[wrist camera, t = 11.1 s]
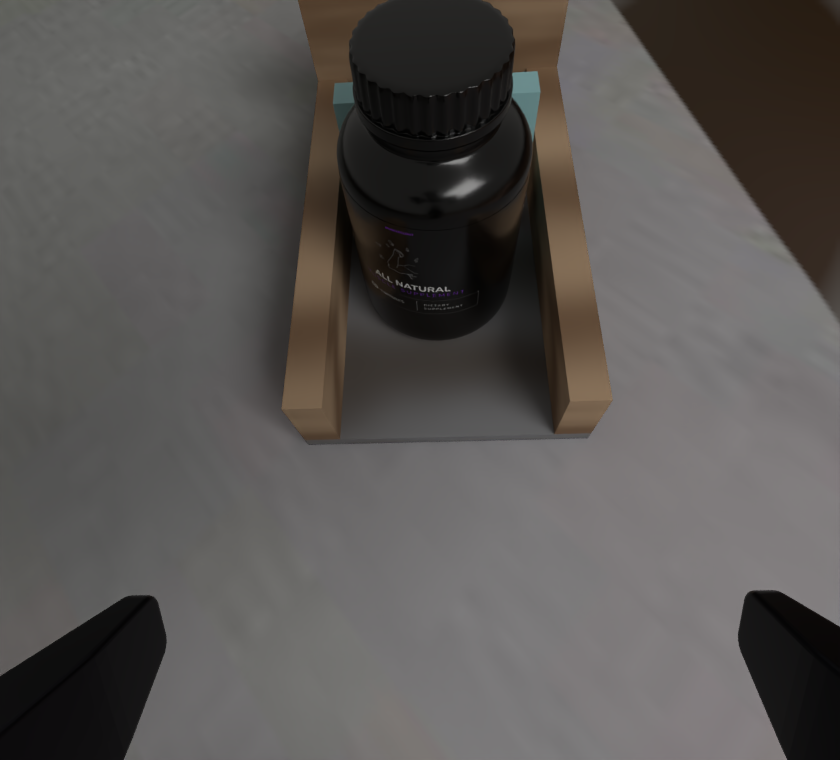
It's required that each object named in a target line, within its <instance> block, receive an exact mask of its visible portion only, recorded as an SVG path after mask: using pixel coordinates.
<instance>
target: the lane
mask: <svg viewBox="0 0 840 760" xmlns="http://www.w3.org/2000/svg"><path fill="white" fill-rule="evenodd" d="M386 1H388V0H298V2H299V6H300V10H301V14H302V18H303V22H304V26H305V30H306V34H307V38H308V42H309V46H310V50H311V54H312V58H313V62H314V66H315V70H316V74H317V78H318V87H317V96H316V105H315V114H314V123H313V132H312V140H311V149H310V158H309V167H308V176H307V185H306V194H305V203H304V212H303V221H302V230H301V239H300V248H299V257H298V266H297V275H296V284H295V293H294V302H293V311H292V319H291V328H290V337H289V346H288V355H287V364H286V373H285V382H284V391H283V400H282V411H283V412H284V413H285V415H286V416H287V417H288V418H289V420H290V421H291V422H292V424H293V425H294V426H295V428H296V429H297V430H298V431H299V433H300V434H301V435H302V437H303V438H304V439H305V441H306V442H307V443H308V444H309V445H316V444H358V443H400V442H443V441H485V440H527V439H570V438H588V437H589V435H590V434H591V432H592V431H593V429H594V428H595V426H596V425H597V423H598V422H599V420H600V419H601V417H602V416H603V414H604V413H605V411H606V410H607V408H608V407H609V405H610V404H611V402H612V401H613V399H612V393H611V387H610V381H609V375H608V369H607V363H606V357H605V351H604V345H603V340H602V334H601V328H600V322H599V316H598V310H597V304H596V298H595V292H594V286H593V280H592V274H591V268H590V262H589V256H588V250H587V244H586V238H585V232H584V226H583V220H582V214H581V208H580V202H579V196H578V190H577V184H576V178H575V172H574V166H573V160H572V154H571V148H570V142H569V136H568V131H567V125H566V119H565V113H564V107H563V101H562V95H561V89H560V83H559V77H558V71H557V63H558V57H559V51H560V46H561V40H562V34H563V29H564V23H565V17H566V12H567V6H568V0H482V1H485V2H489V3H490V4H491V5H492V6H493V7H494V8H496V9H499V10H500V11H501V13H502V15H503V16H504V17H506V18H507V19H508V24H509V25H510V26H511V27H512V28H513V36H514V38H515V54H514V63H513V72H512V73H515V72H532V71H538V78H539V85H540V99H539V105H538V112H537V118H536V125H535V131H534V138H533V153H532V163H531V169H530V175H529V181H528V186H527V192H526V197H525V203H524V208H523V214H522V219H521V225H520V230H519V236H518V241H517V247H516V252H515V258H514V263H513V269H512V274H511V279H510V284H509V288H508V292H507V295H506V298H505V300H504V302H503V304H502V306H501V308H500V309H499V311H498V312H497V313H496V314H495V316H494V317H493V318H492V319H491V320H490V321H489V322H488V323H486V324H485V325H484V326H483V327H481V328H479V329H478V330H476V331H474V332H472V333H470V334H468V335H465V336H463V337H459V338H456V339H451V340H443V341H431V340H422V339H418V338H414V337H411V336H408V335H405V334H403V333H401V332H399V331H397V330H395V329H394V328H392V327H391V326H390V325H388V324H387V323H386V322H385V321H384V320H383V319H382V318H381V317H380V316H379V315H378V313H377V312H376V311H375V309H374V307H373V306H372V304H371V302H370V299H369V297H368V293H367V290H366V286H365V282H364V279H363V274H362V270H361V266H360V261H359V257H358V253H357V249H356V244H355V240H354V236H353V231H352V227H351V223H350V218H349V214H348V210H347V205H346V201H345V197H344V192H343V188H342V184H341V179H340V175H339V169H338V163H337V152H336V151H337V141H338V136H339V128H338V124H337V120H336V116H335V111H334V107H333V96H334V86H335V83H346V82H353V80H352V74H351V68H350V62H349V41H350V39H351V38H352V31H353V30H354V29H355V28H356V27H357V24H358V21H359V20H361V19H362V18H364V17H365V15H366V13H367V12H369V11H371V10H373V9H374V8H375V7H376V6H377V5H378V4H382V3H385V2H386Z"/></svg>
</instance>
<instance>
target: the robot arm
mask: <svg viewBox="0 0 840 760" xmlns="http://www.w3.org/2000/svg"><path fill="white" fill-rule="evenodd" d="M738 642H739V647H740V650H741V653H742V656H743V658H744V660H745V663H746V665H747V667H748V670H749V672H750V674H751V677H752V679H753V682H754V684H755V686H756V689H757V691H758V693H759V696H760V698H761V700H762V703H763V705H764V707H765V710H766V712H767V715H768V717H769V719H770V722H771V724H772V726H773V729H774V731H775V733H776V736H777V738H778V740H779V743H780V745H781V747H782V749H783V752H784V754H785V756H786V758H787V760H840V627H839V626H838V625H836V624H834V623H833V622H831V621H829V620H828V619H826V618H824V617H822V616H821V615H819V614H817V613H816V612H814V611H812V610H811V609H809V608H807V607H806V606H804V605H802V604H800V603H799V602H797V601H795V600H794V599H792V598H790V597H789V596H787V595H785V594H783V593H781V592H779V591H774V590H754V591H750V592H748V593H747V595H746V596H745V599H744V604H743V610H742V615H741V620H740V626H739V631H738ZM166 643H167V639H166V632H165V628H164V624H163V620H162V616H161V612H160V608H159V604H158V601H157V600H156V598H155V597H153V596H150V595H132V596H127V597H125V598H123V599H121V600H120V601H118V602H116V603H115V604H113V605H112V606H110V607H109V608H107V609H105V610H104V611H102V612H101V613H99V614H98V615H96V616H94V617H93V618H91V619H90V620H88V621H87V622H85V623H83V624H82V625H80V626H79V627H77V628H75V629H74V630H72V631H71V632H69V633H68V634H66V635H64V636H63V637H61V638H60V639H58V640H57V641H55V642H53V643H52V644H50V645H49V646H47V647H46V648H44V649H42V650H41V651H39V652H38V653H36V654H34V655H33V656H31V657H30V658H28V659H27V660H25V661H23V662H22V663H20V664H19V665H17V666H16V667H14V668H12V669H11V670H9V671H8V672H6V673H4V674H3V675H1V676H0V760H124V757H125V755H126V753H127V750H128V748H129V745H130V743H131V741H132V738H133V735H134V733H135V730H136V728H137V725H138V722H139V720H140V717H141V714H142V712H143V709H144V706H145V704H146V701H147V698H148V696H149V693H150V690H151V688H152V685H153V683H154V680H155V677H156V675H157V672H158V669H159V667H160V664H161V661H162V659H163V656H164V653H165V649H166Z"/></svg>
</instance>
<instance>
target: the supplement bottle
mask: <svg viewBox="0 0 840 760" xmlns="http://www.w3.org/2000/svg"><path fill="white" fill-rule="evenodd" d="M514 54H515V38H514V36H513V28H512V27H511V26H510V25H509V24H508V19H507V18H506V17H504V16H503V15H502V13H501V11H500V10H499V9H496V8H494V7H493V6H492V5H491V4H490V3H489V2H485V1H482V0H388V1H386V2H385V3H382V4H378V5H377V6H376V7H375V8H374V9H373V10H371V11H369V12H367V13H366V15H365V17H364V18H362V19H361V20H359V21H358V24H357V27H356V28H355V29H354V30H353V31H352V38H351V39H350V41H349V62H350V68H351V74H352V80H353V98H354V104H353V106H352V107H351V109H350V110H349V112H348V113H347V115H346V117H345V119H344V121H343V124H342V126H341V129H340V132H339V136H338V141H337V151H336V152H337V163H338V169H339V175H340V179H341V184H342V188H343V192H344V197H345V201H346V205H347V210H348V214H349V218H350V223H351V227H352V231H353V236H354V240H355V244H356V249H357V253H358V257H359V261H360V266H361V270H362V274H363V279H364V282H365V286H366V290H367V293H368V297H369V299H370V302H371V304H372V306H373V307H374V309H375V311H376V312H377V313H378V315H379V316H380V317H381V318H382V319H383V320H384V321H385V322H386V323H387V324H388V325H390V326H391V327H392V328H394V329H395V330H397V331H399V332H401V333H403V334H405V335H408V336H411V337H414V338H418V339H422V340H431V341H443V340H451V339H456V338H459V337H463V336H465V335H468V334H470V333H472V332H474V331H476V330H478V329H479V328H481V327H483V326H484V325H485V324H486V323H488V322H489V321H490V320H491V319H492V318H493V317H494V316H495V314H496V313H497V312H498V311H499V309H500V308H501V306H502V304H503V302H504V300H505V298H506V295H507V292H508V288H509V284H510V279H511V274H512V269H513V263H514V258H515V252H516V247H517V241H518V236H519V230H520V225H521V219H522V214H523V208H524V203H525V197H526V192H527V186H528V181H529V175H530V169H531V163H532V153H533V142H532V134H531V130H530V127H529V124H528V121H527V119H526V117H525V115H524V113H523V111H522V109H521V108H520V106H519V105H518V103H517V102H516V101H515V99H514V98H513V97H512V92H513V76H512V72H513V63H514Z"/></svg>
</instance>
